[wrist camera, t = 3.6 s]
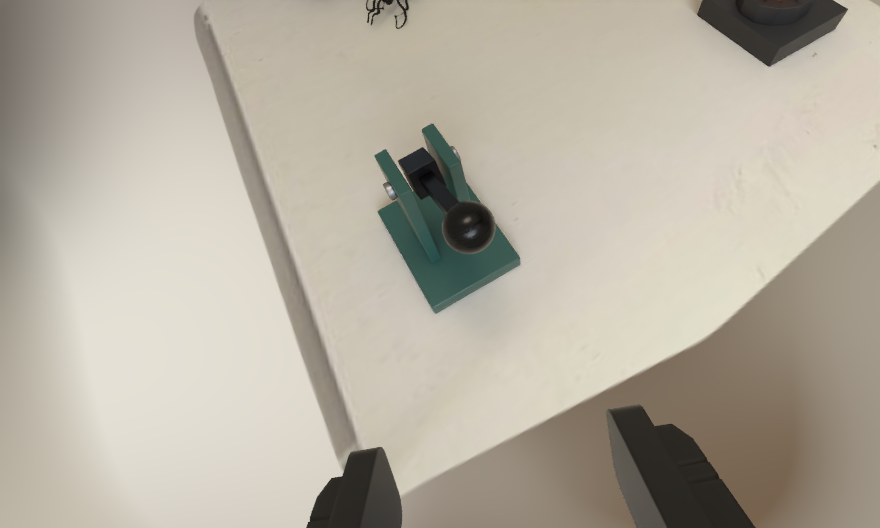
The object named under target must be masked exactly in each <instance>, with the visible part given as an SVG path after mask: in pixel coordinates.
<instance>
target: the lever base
mask: <svg viewBox="0 0 880 528" xmlns="http://www.w3.org/2000/svg"><path fill="white" fill-rule="evenodd" d="M422 133H423V136H424V139H425V142H426V145H427V148H428V151H429V154H430V155H431V156H432V157H433V158H434V159H435V161H436V163H437V165H438V167H439V170H440V172H441V174H442V176H443V179H444V181H445V183H446V187H447V188H448V190H449V191H450V192H451V193H452V194H453V195H454V196H455V197H456V198H457V199H458V201H459V202H462V201H476V202H479V203H481V202H480V201H479V200H478V198H477V197H476V195H475V194H474V193H473V191H472V190H471V188H470V187H469V186H468V184H467V183H466V181H465V177H464V173H463V168H462V164H461V159H460V156H459V154H458V152H457V151H456V149H455V148H454V147H453V146H449V145H448V143H447V142H446V141H445V139H444V138H443V136H442V135H441V134H440V132H439V131H438V130H437V128H436V127H435V126H434V124H430V125H429V126H427V127H425V128H423V129H422ZM375 158H376V160H377V162H378V164H379V166H380V168H381V170H382V172H383V174H384V176H385V178H386V180H387V182H386V183H384V184H383V186H384V188H385V190H386V192H387V193H388V195H389V197H390V199H391V200H392V201H393V200H395V199H396V200H397V201H395V202H393V203H392V204H390V205H388V206H386V207H384V208H383V209H381V210H379V211H378V213H379V215H380V217H381V219H382V221H383V222H384V224H385V226H386V228H387V229H388V231H389V233H390V235H391V237H392V238H393V240H394V242H395V244H396V245H397V247H398V249H399V251H400V253H401V254H402V256H403V258H404V260H405V261H406V263H407V265H408V267H409V269H410V270H411V272H412V274H413V276H414V277H415V279H416V281H417V283H418V285H419V286H420V288H421V290H422V292H423V293H424V295H425V297H426V299H427V301H428V302H429V304H430V306H431V308H432V309H433V311H434V312H435V313H437V312H439V311H441V310H442V309H444V308H446V307H448V306H449V305H451V304H453V303H455V302H456V301H458V300H460V299H461V298H463V297H465V296H467V295H468V294H470V293H472V292H474V291H475V290H477V289H479V288H480V287H482V286H484V285H486V284H487V283H489V282H491V281H493V280H494V279H496V278H498V277H499V276H501V275H503V274H505V273H506V272H508V271H510V270H512V269H513V268H515V267H517V266H518V265H520V257H519V256H518V254H517V253H516V251H515V250H514V249H513V247H512V246H511V244H510V243H509V242H508V240H507V239H506V237H505V236H504V235H503V233H502V232H501V230H500V229H499V228H498V226H497V225H496V223H495V227H496V228H495V235H494V238H493V240H492V242H491V243H490V244H489V246H488V247H486V248H485V249H484V250H482V251H481V252H478V253H475V254H462V253H459V252H457V251H455V250H453V249H452V248H451V247H450V246H449V245H448V244H447V243H446V241H445V239H444V237H443V233H442V222H443V218H444V216H445V214H444V213H443V212H442V211H441V209H440V208H439V207H438V206H437V204H436V203H435V202H434V201H433V199H432V198H431V197H430V196H428V197H426V198H424V199H422V200H421V199H420V198H419V197H418V195H417V194H416V193H415V191H413V192H412V190H411V188H410V187H409V185H408V183H407V182H406V180H405V179H404V177H403V176H402V174H401V172H400V171H399V169H398V168H397V166H396V164H395V163H394V161H393V160H392V158H391V156H390V155H389V153H388V152H387V150H386V149H385V150H383V151H382V152H380V153H378V154H376V155H375Z"/></svg>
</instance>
